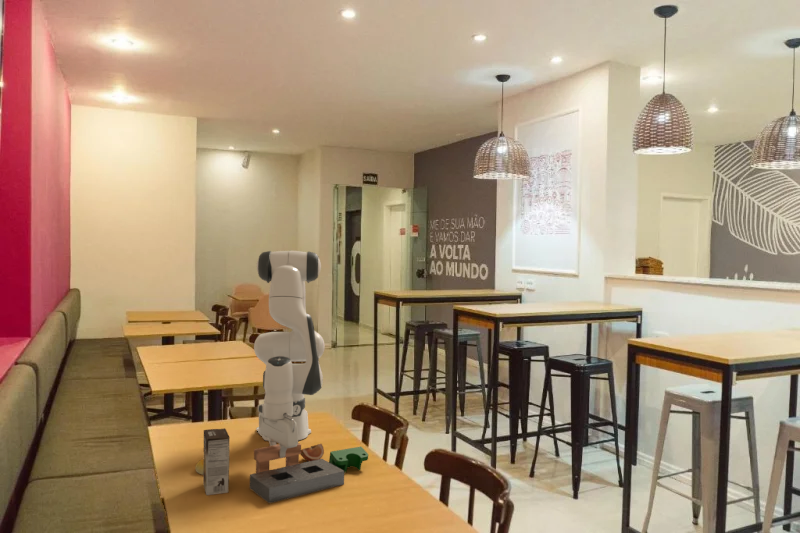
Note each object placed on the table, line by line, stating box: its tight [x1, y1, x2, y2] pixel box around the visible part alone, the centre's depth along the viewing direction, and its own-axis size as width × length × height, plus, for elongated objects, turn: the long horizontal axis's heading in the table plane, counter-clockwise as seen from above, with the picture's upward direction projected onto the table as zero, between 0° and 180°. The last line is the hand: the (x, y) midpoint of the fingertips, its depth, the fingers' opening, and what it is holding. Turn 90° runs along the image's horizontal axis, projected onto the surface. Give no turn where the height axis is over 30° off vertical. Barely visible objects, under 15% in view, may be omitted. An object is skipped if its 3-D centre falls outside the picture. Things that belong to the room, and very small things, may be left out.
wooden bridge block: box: [253, 442, 302, 473], centre depth 187 cm, size 4×14×8 cm, turn 127°
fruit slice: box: [299, 443, 325, 462], centre depth 198 cm, size 8×7×5 cm
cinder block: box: [249, 458, 345, 504], centre depth 176 cm, size 13×24×4 cm, turn 128°
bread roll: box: [195, 458, 204, 475], centre depth 188 cm, size 8×9×4 cm
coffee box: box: [202, 428, 230, 496], centre depth 174 cm, size 9×6×16 cm
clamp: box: [328, 446, 369, 474], centre depth 191 cm, size 12×6×9 cm, turn 116°
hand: (277, 454), depth 187 cm, fingers closed on wooden bridge block, 4 cm apart
